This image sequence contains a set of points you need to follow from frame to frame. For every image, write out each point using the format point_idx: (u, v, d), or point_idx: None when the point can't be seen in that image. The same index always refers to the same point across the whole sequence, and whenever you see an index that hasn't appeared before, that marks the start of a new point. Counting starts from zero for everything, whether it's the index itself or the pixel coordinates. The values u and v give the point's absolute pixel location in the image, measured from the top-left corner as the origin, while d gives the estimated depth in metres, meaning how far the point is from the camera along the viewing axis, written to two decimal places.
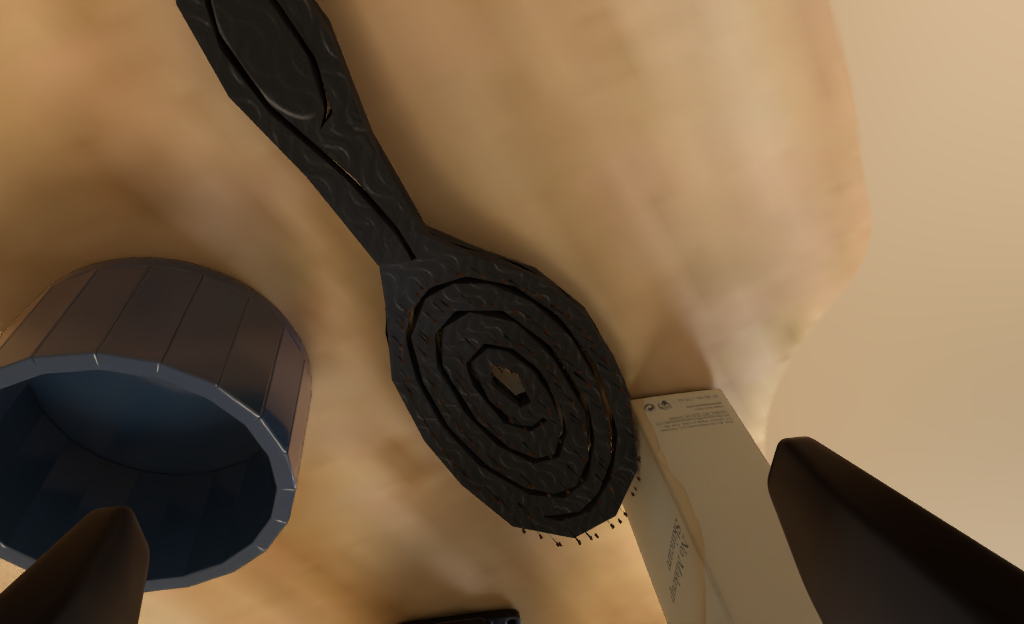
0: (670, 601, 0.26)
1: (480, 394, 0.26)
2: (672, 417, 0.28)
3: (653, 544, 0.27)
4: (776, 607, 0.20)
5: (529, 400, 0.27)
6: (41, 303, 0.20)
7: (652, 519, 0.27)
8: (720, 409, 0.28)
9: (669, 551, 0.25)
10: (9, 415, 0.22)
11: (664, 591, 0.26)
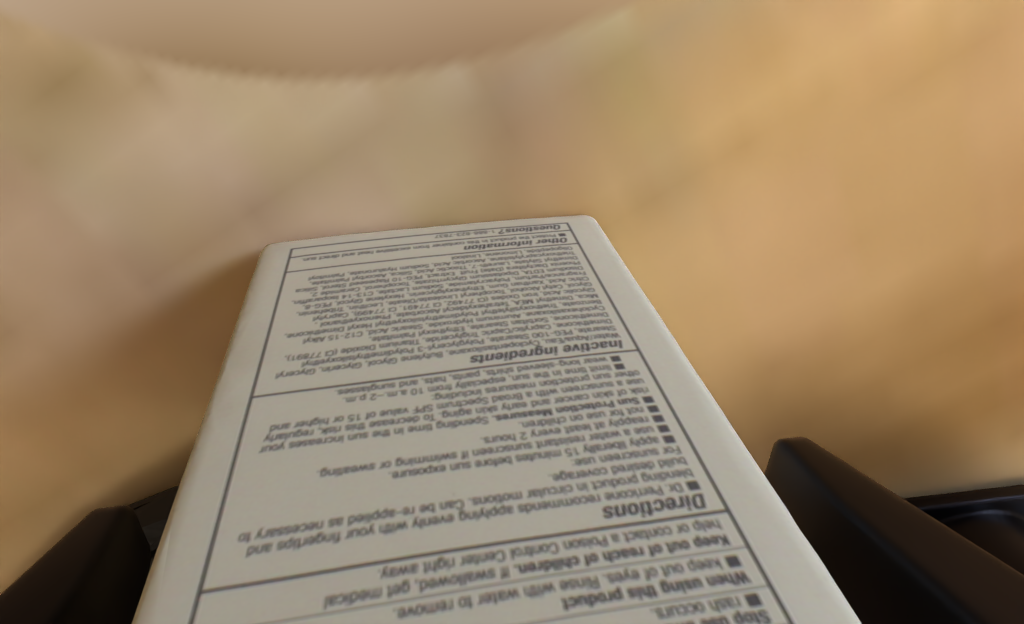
0: None
1: None
2: None
3: None
4: None
5: None
6: None
7: None
8: None
9: None
10: None
11: None
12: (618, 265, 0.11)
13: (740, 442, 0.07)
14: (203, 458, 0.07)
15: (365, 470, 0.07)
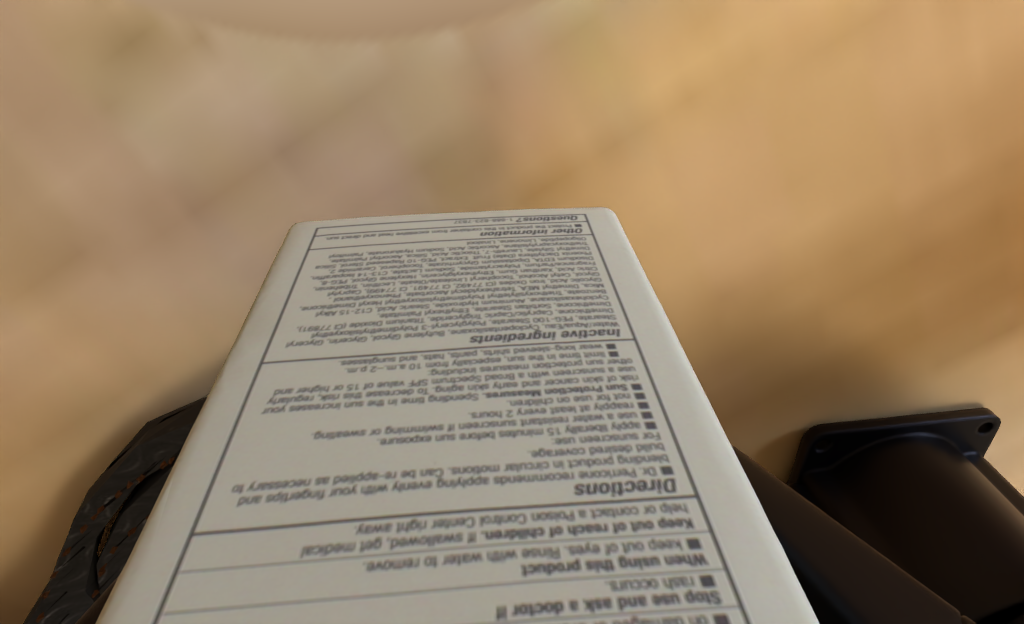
0: None
1: None
2: None
3: None
4: None
5: None
6: None
7: None
8: None
9: None
10: None
11: None
12: (630, 258, 0.11)
13: (721, 432, 0.07)
14: (211, 416, 0.08)
15: (356, 436, 0.07)
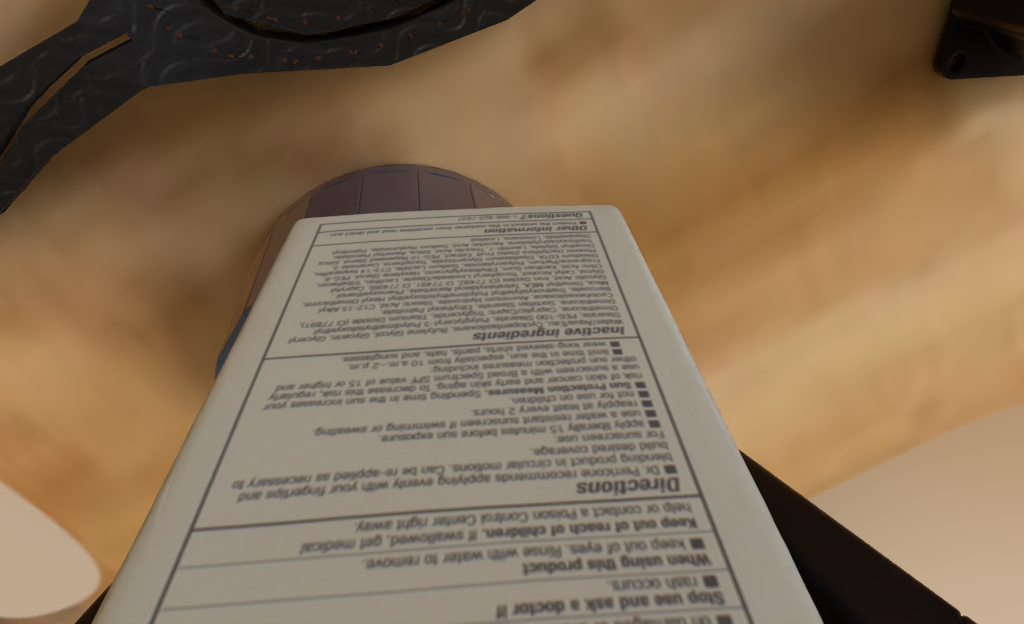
0: None
1: None
2: None
3: None
4: None
5: None
6: None
7: None
8: None
9: None
10: None
11: None
12: (634, 255, 0.11)
13: (726, 432, 0.07)
14: (211, 411, 0.08)
15: (357, 433, 0.07)
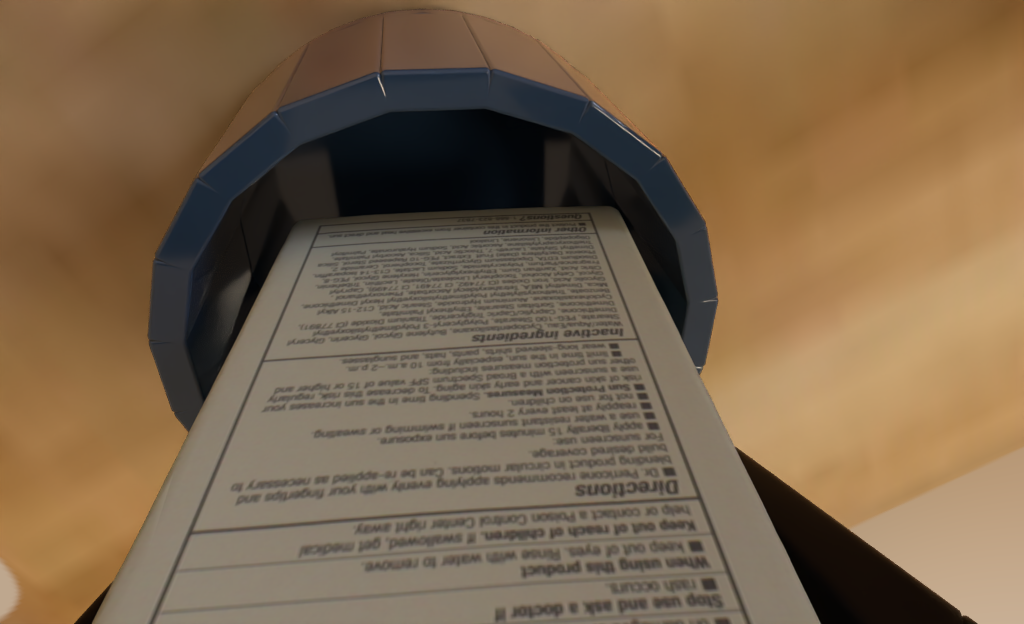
0: None
1: None
2: None
3: None
4: None
5: None
6: None
7: None
8: None
9: None
10: None
11: None
12: (633, 256, 0.11)
13: (724, 435, 0.07)
14: (210, 414, 0.08)
15: (356, 435, 0.07)
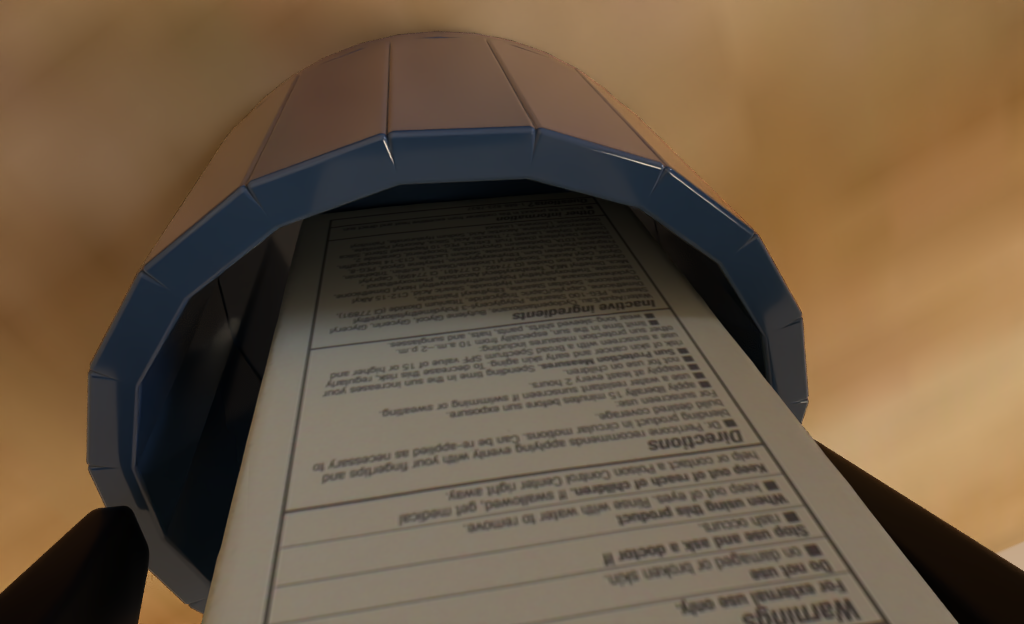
0: None
1: None
2: None
3: None
4: None
5: None
6: None
7: None
8: None
9: None
10: None
11: None
12: (646, 235, 0.11)
13: (771, 388, 0.08)
14: (270, 402, 0.08)
15: (424, 411, 0.07)
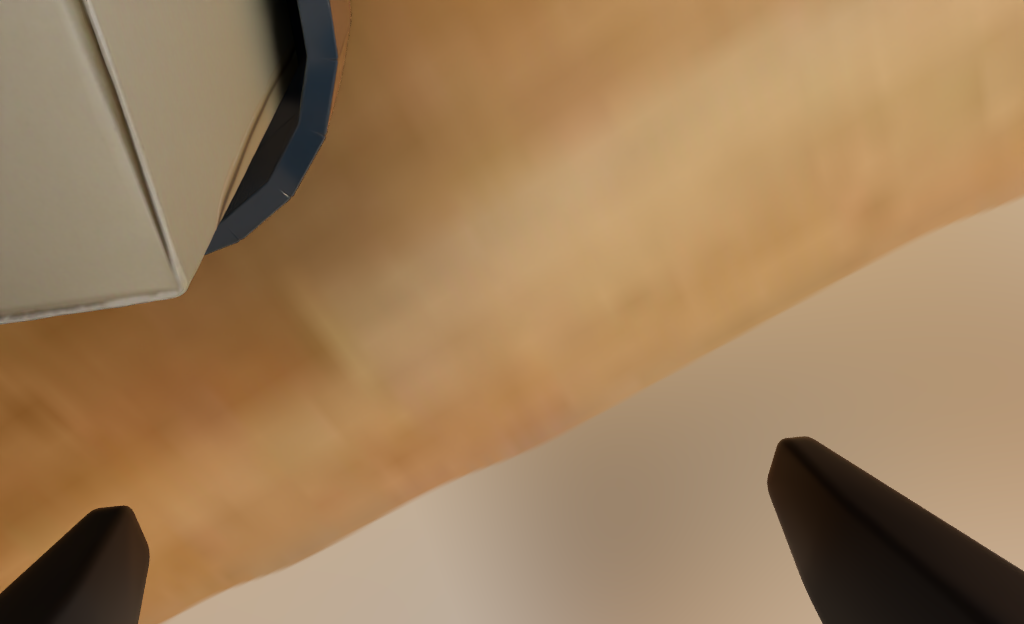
0: None
1: None
2: None
3: None
4: None
5: None
6: None
7: None
8: None
9: None
10: None
11: None
12: None
13: None
14: None
15: None
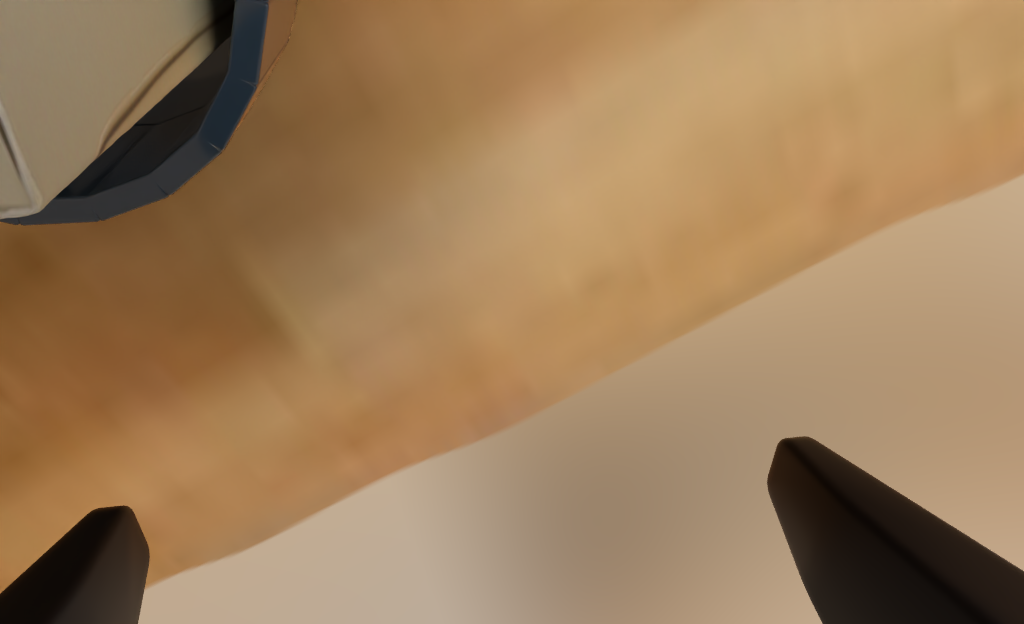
0: None
1: None
2: None
3: None
4: None
5: None
6: None
7: None
8: None
9: None
10: None
11: None
12: None
13: None
14: None
15: None
